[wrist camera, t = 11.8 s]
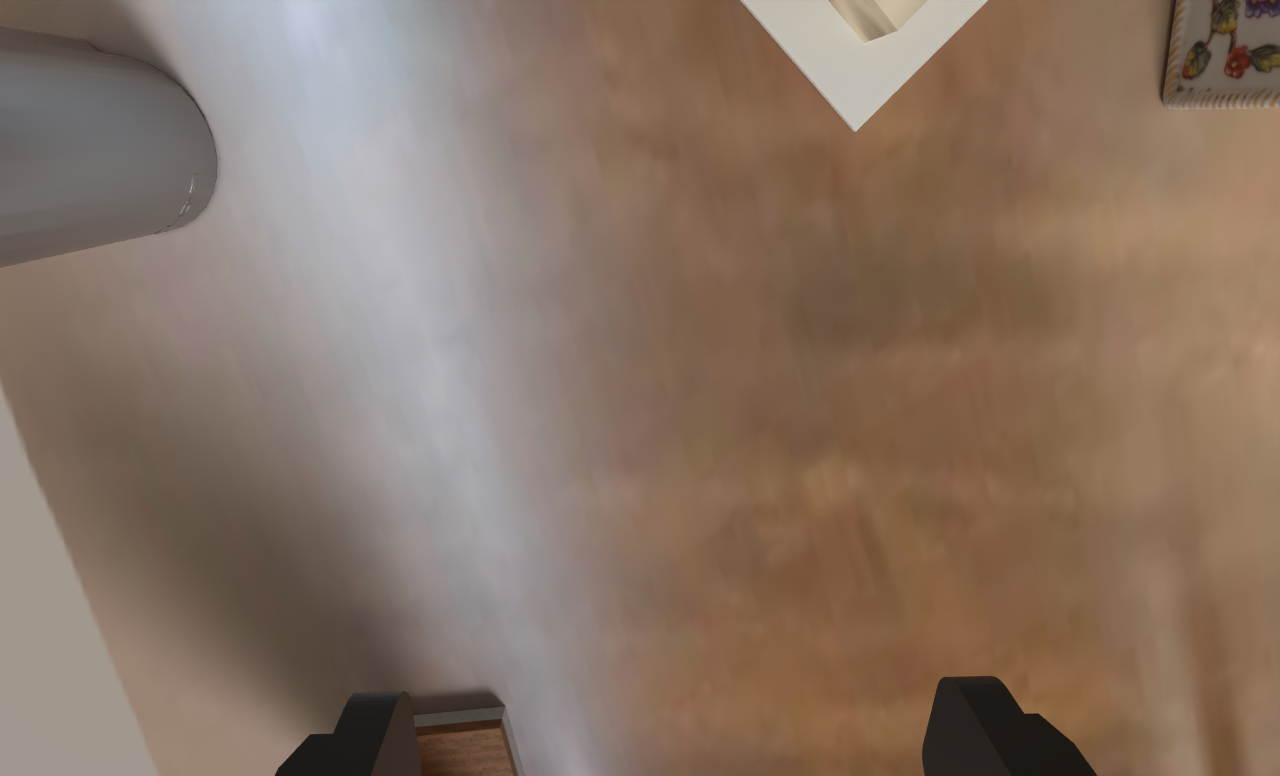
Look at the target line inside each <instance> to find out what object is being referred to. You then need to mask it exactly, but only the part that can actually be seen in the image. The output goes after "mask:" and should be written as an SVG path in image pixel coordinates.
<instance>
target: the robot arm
mask: <svg viewBox="0 0 1280 776" xmlns="http://www.w3.org/2000/svg"><path fill="white" fill-rule="evenodd" d="M216 178H217V156H216V151H215V146H214V141H213V138H212V136H211V133H210V130H209V128H208V125H207V123H206V121H205V119H204V117H203V116H202V114H201V113H200V111H199V109H198V108H197V106H196V104H195V103H194V102H193V101H192V99H191V98H190V97H189V96H188V95H187V94H186V92H185V91H184V90H183V89H182V88H181V87H180V86H179V85H178V84H176V83H175V82H174V81H173V80H172V79H170V78H169V77H168V76H167V75H166V74H164V73H163V72H161V71H159V70H157V69H156V68H154V67H152V66H150V65H149V64H147V63H144V62H142V61H139V60H136V59H133V58H130V57H127V56H120V55H113V54H106V53H101V52H100V51H98V50H96V49H95V48H93V47H92V46H91V45H90V44H89V43H87V42H86V41H85V40H83V39H77V38H70V37H64V36H57V35H51V34H44V33H38V32H32V31H25V30H19V29H12V28H6V27H0V268H1V267H6V266H10V265H15V264H19V263H24V262H28V261H33V260H38V259H42V258H47V257H51V256H56V255H61V254H65V253H70V252H74V251H79V250H83V249H88V248H93V247H97V246H102V245H106V244H111V243H115V242H120V241H125V240H129V239H134V238H139V237H143V236H148V235H152V234H158V233H161V232H166V231H169V230H173V229H176V228H179V227H182V226H184V225H185V224H187V223H189V222H190V221H192V220H193V219H195V218H196V217H197V216H198V215H199V214H200V213H201V212H202V211H203V209H204V208H205V207H206V205H207V204H208V202H209V200H210V198H211V196H212V194H213V191H214V187H215V182H216ZM922 760H923V768H924V773H925V776H1097V775H1096V773H1095V772H1094V770H1093V769H1092V768H1091V766H1090V765H1089V764H1088V762H1087V761H1086V759H1085V758H1084V757H1083V755H1082V754H1081V752H1080V751H1079V750H1078V748H1077V747H1076V746H1075V744H1074V743H1073V742H1071V741H1070V740H1069V739H1068V738H1067V737H1066V736H1064V735H1063V734H1062V733H1061V732H1060V731H1058V730H1057V729H1056V728H1055V727H1054V726H1053V725H1051V724H1050V723H1049V722H1048V721H1047V720H1046V719H1044V718H1043V717H1042V716H1041V715H1040V714H1038V713H1037V714H1024V713H1023V711H1022V710H1021V708H1020V707H1019V705H1018V704H1017V702H1016V701H1015V699H1014V698H1013V696H1012V695H1011V693H1010V692H1009V690H1008V689H1007V688H1006V686H1005V685H1004V684H1003V683H1002V682H1001V681H1000V680H999V679H998V678H996V677H994V676H969V677H944V678H942V679H941V680H940V681H939V683H938V686H937V690H936V694H935V698H934V702H933V706H932V710H931V715H930V719H929V723H928V727H927V731H926V735H925V739H924V743H923V749H922ZM275 776H421V759H420V753H419V747H418V741H417V735H416V729H415V723H414V717H413V711H412V705H411V700H410V696H409V694H408V693H407V692H369V693H354V694H353V695H352V696H351V697H350V698H349V700H348V702H347V704H346V706H345V708H344V710H343V712H342V715H341V717H340V719H339V721H338V724H337V726H336V728H335V730H334V733H333V734H310V735H309V736H308V737H307V738H306V739H305V740H304V742H303V743H302V744H301V745H300V746H299V747H298V748H297V749H296V750H295V751H294V752H293V753H292V754H291V755H290V756H289V758H288V759H287V760H286V761H285V762H284V763H283V764H282V765H281V766H280V767H279V768H278V770H277V772H276V774H275Z"/></svg>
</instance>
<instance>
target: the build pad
mask: <svg viewBox="0 0 1280 776" xmlns="http://www.w3.org/2000/svg"><path fill="white" fill-rule="evenodd" d="M740 1H741V2H742V3H743V4H744V5H745V6H746V8H747V9H748V10H749V11H750V12H751V13H752V15H753V16H754V17H755V18H756V19H757V20H758V21H759V23H760V24H761V25H762V26H763V27H764V28H765V30H766V31H767V32H768V33H769V34H770V35H771V37H772V38H773V39H774V40H775V41H776V42H777V43H778V45H779V46H780V47H781V48H782V49H783V50H784V52H785V53H786V54H787V55H788V56H789V57H790V58H791V60H792V61H793V62H794V63H795V64H796V65H797V67H798V68H799V69H800V70H801V71H802V72H803V74H804V75H805V76H806V77H807V78H808V79H809V80H810V82H811V83H812V84H813V85H814V86H815V87H816V89H817V90H818V91H819V92H820V93H821V94H822V95H823V97H824V98H825V99H826V100H827V101H828V102H829V104H830V105H831V106H832V107H833V108H834V109H835V111H836V112H837V113H838V114H839V115H840V116H841V117H842V119H843V120H844V121H845V122H846V123H847V124H848V126H849V127H850V128H851V129H852V130H853V131H857V130H858V129H859V128H860V127H861V126H862V125H863V124H864V123H865V122H866V121H867V120H868V119H869V118H870V117H871V116H872V115H873V114H874V113H875V112H876V111H877V110H878V109H879V108H880V107H881V106H882V105H883V104H884V103H885V102H886V101H887V100H888V99H889V98H890V97H891V96H892V95H893V94H894V93H895V92H896V91H897V90H898V89H899V88H900V87H901V86H902V85H903V84H904V83H905V82H906V81H907V80H908V79H909V78H910V77H911V76H912V75H913V74H914V73H915V72H916V71H917V70H918V69H919V68H920V67H921V66H922V65H923V64H924V63H925V62H926V61H927V60H928V59H929V58H930V57H931V56H932V55H933V54H934V53H935V52H936V51H937V50H938V49H939V48H940V47H941V46H942V45H943V44H944V43H945V42H946V41H947V40H948V39H949V38H950V37H951V36H952V35H953V34H954V33H955V32H956V31H957V30H958V29H959V28H960V27H961V26H962V25H963V24H964V23H965V22H966V21H967V20H968V19H969V18H970V17H972V16H973V15H974V14H975V13H976V12H977V11H978V10H979V9H980V8H981V7H982V6H983V5H984V4H985V3H986V2H987V1H988V0H928V1H927V2H926V3H925V4H924V5H923V6H922V7H921V8H920V9H919V10H918V11H917V12H916V13H915V14H914V15H913V16H912V17H911V18H910V19H909V20H908V21H907V22H906V23H905V24H904V25H903V26H902V27H901V28H900V29H899V30H898V31H896V32H893V33H890V34H888V35H885V36H882V37H880V38H877V39H874V40H872V41H869V42H866V43H863V42H862V41H861V40H860V38H859V37H858V36H857V35H856V33H855V32H854V31H853V30H852V29H851V27H850V26H849V25H848V24H847V23H846V21H845V20H844V19H843V18H842V16H841V15H840V14H839V13H838V12H837V10H836V9H835V8H834V7H833V6H832V4H831V3H830V2H829V1H828V0H740Z"/></svg>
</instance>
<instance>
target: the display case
mask: <svg viewBox="0 0 1280 776" xmlns="http://www.w3.org/2000/svg"><path fill="white" fill-rule="evenodd" d="M413 717H414V723H415V729H416V735H417V741H418V747H419V753H420V759H421V776H524V772H523V769H522V765H521V761H520V758H519V754H518V750H517V747H516V743H515V740H514V736H513V732H512V729H511V725H510V722H509V718H508V714H507V711H506V707H505V706H501V707H491V708H481V709H471V710H461V711H451V712H441V713H431V714H421V715H413Z"/></svg>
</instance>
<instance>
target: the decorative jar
mask: <svg viewBox="0 0 1280 776" xmlns="http://www.w3.org/2000/svg"><path fill="white" fill-rule="evenodd" d="M1163 105H1164V107H1165V108H1171V109H1246V108H1267V107H1280V0H1176V5H1175V11H1174V20H1173V27H1172V34H1171V41H1170V49H1169V58H1168V65H1167V71H1166V78H1165V84H1164V92H1163Z"/></svg>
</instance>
